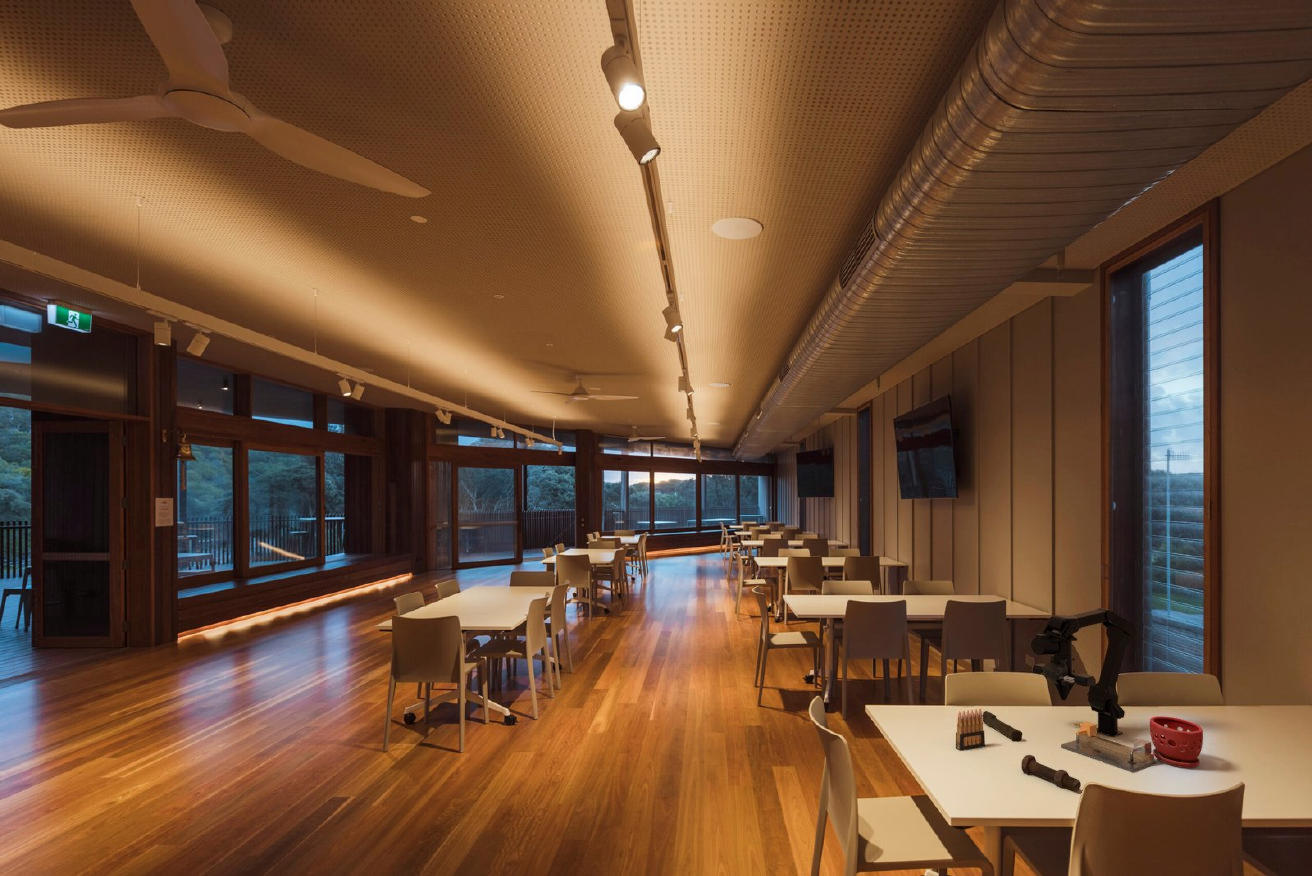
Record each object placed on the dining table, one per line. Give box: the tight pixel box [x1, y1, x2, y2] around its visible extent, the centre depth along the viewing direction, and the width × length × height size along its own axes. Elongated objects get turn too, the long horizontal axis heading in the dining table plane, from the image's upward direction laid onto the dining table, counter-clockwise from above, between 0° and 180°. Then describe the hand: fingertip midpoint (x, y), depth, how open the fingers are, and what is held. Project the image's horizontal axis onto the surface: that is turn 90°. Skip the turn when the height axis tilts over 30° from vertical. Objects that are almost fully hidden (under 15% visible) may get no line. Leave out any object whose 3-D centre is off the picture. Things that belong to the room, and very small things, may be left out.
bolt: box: [1020, 754, 1082, 792], centre depth 193 cm, size 6×5×15 cm
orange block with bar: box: [1075, 721, 1098, 744], centre depth 221 cm, size 9×3×5 cm, turn 119°
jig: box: [1060, 734, 1157, 773], centre depth 213 cm, size 14×21×6 cm, turn 29°
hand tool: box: [982, 710, 1023, 743], centre depth 232 cm, size 19×4×5 cm, turn 4°
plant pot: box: [1149, 715, 1204, 769], centre depth 209 cm, size 13×13×12 cm
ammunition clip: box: [955, 708, 986, 752], centre depth 218 cm, size 11×2×12 cm, turn 112°
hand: (1063, 700), depth 230 cm, fingers closed
